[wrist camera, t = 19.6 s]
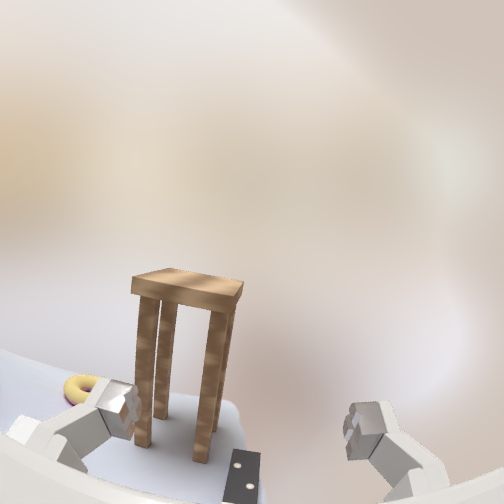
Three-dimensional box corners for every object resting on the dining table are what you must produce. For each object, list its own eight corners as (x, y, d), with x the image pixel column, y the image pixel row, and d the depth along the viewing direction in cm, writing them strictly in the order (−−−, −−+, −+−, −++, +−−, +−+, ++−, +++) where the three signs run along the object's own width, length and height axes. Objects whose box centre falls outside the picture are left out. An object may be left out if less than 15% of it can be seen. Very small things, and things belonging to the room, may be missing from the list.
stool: (126, 450, 35) (132, 276, 34) (156, 408, 49) (169, 267, 48) (207, 472, 34) (233, 296, 33) (220, 423, 48) (243, 281, 47)
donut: (92, 392, 51) (55, 396, 43) (92, 370, 52) (54, 373, 44) (124, 408, 47) (84, 416, 39) (124, 385, 48) (83, 391, 40)
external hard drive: (65, 435, 33) (43, 487, 21) (20, 421, 32) (-10, 466, 19) (64, 427, 33) (40, 479, 21) (19, 413, 31) (-13, 458, 19)
